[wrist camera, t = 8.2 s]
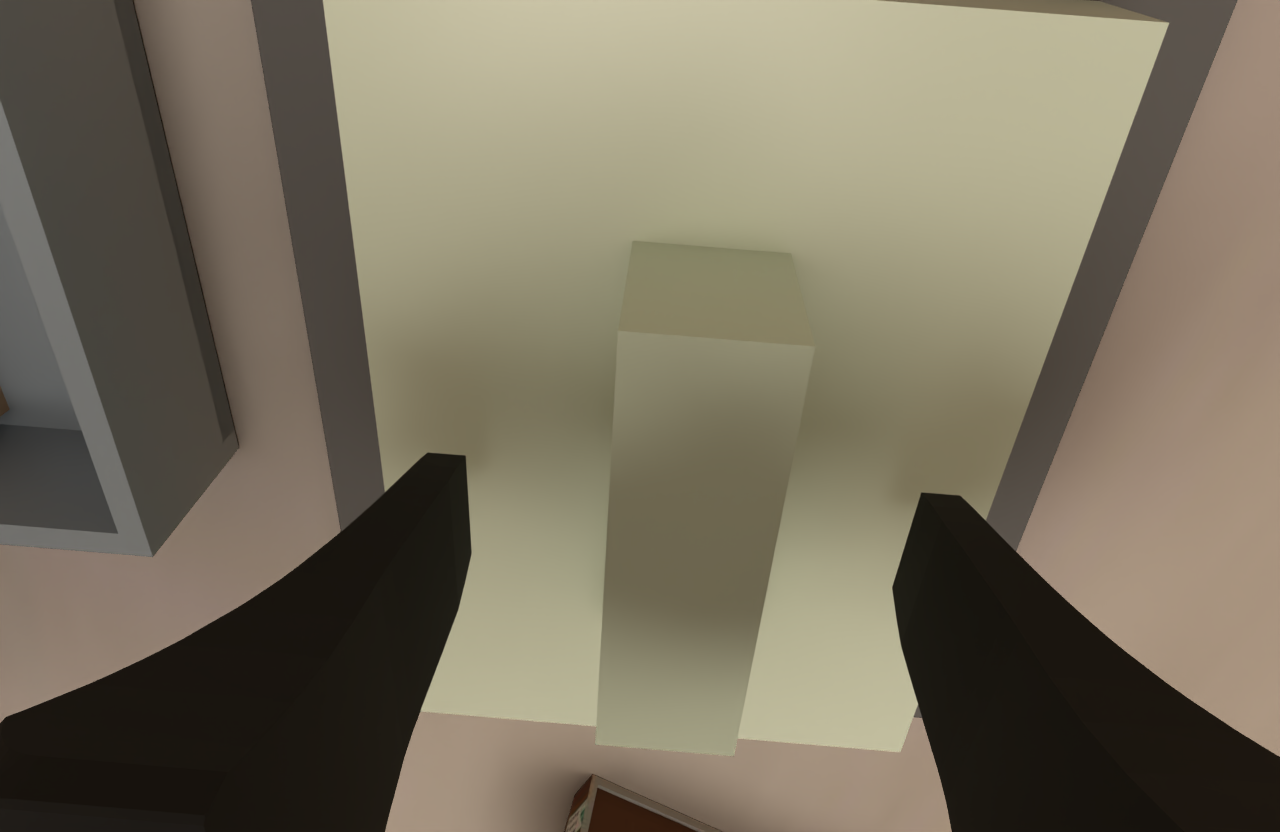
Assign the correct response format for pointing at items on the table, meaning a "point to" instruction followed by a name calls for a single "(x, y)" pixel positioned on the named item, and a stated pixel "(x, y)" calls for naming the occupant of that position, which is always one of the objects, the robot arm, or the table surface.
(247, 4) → the table surface
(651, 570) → the lid
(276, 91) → the rubber mat
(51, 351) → the storage box
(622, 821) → the food container
